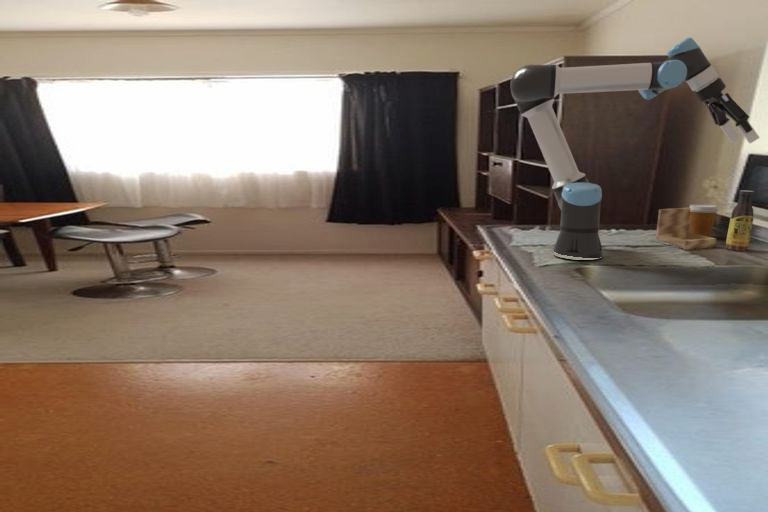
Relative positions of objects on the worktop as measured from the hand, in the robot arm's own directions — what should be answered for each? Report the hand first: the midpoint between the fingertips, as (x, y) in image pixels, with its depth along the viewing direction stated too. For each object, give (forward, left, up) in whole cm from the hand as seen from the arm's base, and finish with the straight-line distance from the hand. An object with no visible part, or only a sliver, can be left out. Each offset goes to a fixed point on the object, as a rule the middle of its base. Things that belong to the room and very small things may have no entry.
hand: (745, 140), depth 153 cm
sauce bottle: (+7, +3, -36) cm, 37 cm away
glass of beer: (+14, +25, -36) cm, 46 cm away
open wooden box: (-2, +15, -36) cm, 39 cm away
